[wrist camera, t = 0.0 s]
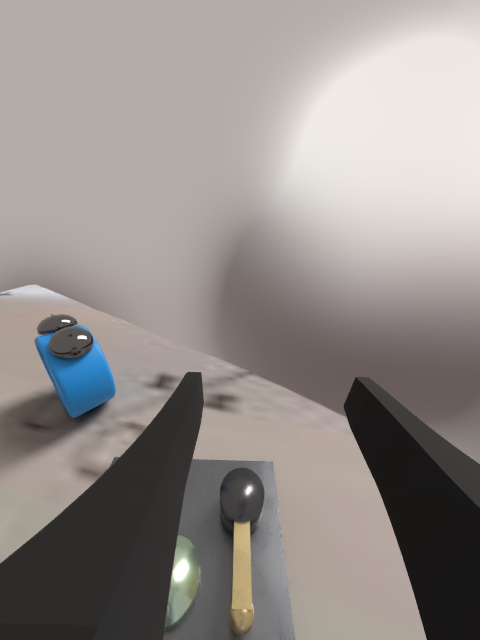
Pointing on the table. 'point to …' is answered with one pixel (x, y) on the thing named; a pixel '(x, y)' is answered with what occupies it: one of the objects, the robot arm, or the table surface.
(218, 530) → the dark grey square plate
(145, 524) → the robot arm
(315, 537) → the table surface
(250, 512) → the knob
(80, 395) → the alarm clock
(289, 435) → the table surface
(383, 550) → the table surface
